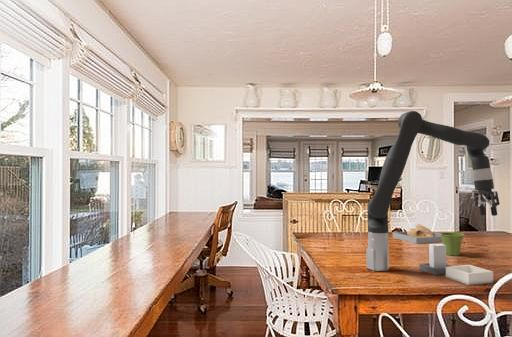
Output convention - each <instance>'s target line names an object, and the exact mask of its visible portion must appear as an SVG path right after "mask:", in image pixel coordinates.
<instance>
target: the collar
mask: <svg viewBox="0 0 512 337" xmlns="http://www.w3.org/2000/svg"><path fill="white" fill-rule="evenodd" d="M449 266H451V265H450V264H447V263H446V267H449ZM419 270H421V271H424V272H426V273H430V274H432V275H434V276H435V275H436V276H440V275H441V276H442V275H446V268H434V267H431V266H430V263H429V262H425V263H424V262H423V263H419Z"/></svg>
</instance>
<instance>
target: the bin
mask: <svg viewBox="0 0 512 337" xmlns="http://www.w3.org/2000/svg"><path fill="white" fill-rule="evenodd" d="M445 278H447V279H450V280H452V281H455V282H459V283H462V284H464V285H467V286H473V285H482V284H491V283H494V271H493V270H489V269H486V268H482V267H479V266H475V265H473V264H463V265H461V264H460V265H450V266H449V267H446V274H445Z"/></svg>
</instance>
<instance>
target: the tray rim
mask: <svg viewBox="0 0 512 337" xmlns="http://www.w3.org/2000/svg"><path fill="white" fill-rule="evenodd" d="M407 233H408V232H407V231H396V232H392V238H393V239H397V240H400V241H404V242H407V243H412V244H416V245H418V244H435V243H443V242H442V238H441V235H440V233H437V232H432V234H433V237H420V238H416V237H412V236H408V234H407Z"/></svg>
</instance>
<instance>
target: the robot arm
mask: <svg viewBox="0 0 512 337" xmlns="http://www.w3.org/2000/svg"><path fill="white" fill-rule="evenodd" d="M397 126H398V127H399V131H398V134H397V137H396V140H395V141H394V142H393V144H392V146H391V148H390V149H389V150H388V152H387V154H386V157H385V159H384V162H383V165H382V166H381V171H380V175H379V181H378V184H377V185H378V186H377V188H376V190H375V192H374V195H373V196H372V198H371V199H370V200H369V201H368V202H367V209H366V210H367V247H366V248H365V251H366V253H365V255H366V256H365V257H366V259H365V261H366V264H365V265H366V266H365V267H366V269H368V270H371V271H378V272H379V271H380V272H386V271H389V269H390V258H389V256H390V253H389V252H390V251H389V249H390V248H389V247H390V246H389V244H390V243H389V240H390V238H389V234H390V233H389V218H388V216H389V215H388V214H389V213H388V212H389V209H390V204H391V202H392V198H393V196H394V192H395V189H396V188H397V186H398V184H399V181H400V179H401V177H402V175H403V172H404V170H405V167H406V165H407V161H408V159H409V156H410V153H411V149H412V146H413V144H414V141H415V139H416V137H417V135H418V134H421V135H426V136H429V137H432V138H435V139H438V140H441V141H444V142H446V143H449V144H453V145H456V146H465V147H466V150H467V151H466V152H467V153H468V155H469V156H468V157H469V158H470V161H471V167H472V178H473V185H474V190H475V191H477V192H474V193H473V196H474V203H475V206H477V207H478V208H479V215H480V216H486V215H487V214H486V213H487V212H486V207H485V205H486V203H487V204H488V205H489V206H490V207H489V208H490V212H491V216H493V217H494V216H498V209H497V207H498V206H499V205H500V200H499V199H500V198H499V193H498V191H496V190H495V191H493V189H495V184H494V177H493V173H492V169H491V163H490V157H489V156H487V155H485V152H484V150H486V149H487V148H488V147H489V146H490V139H489V138H488V137H487V136H486V135H484V134H482V133H480V132H479V133H477V132H472V131H466V130H462V129H461V128H456V127H454V126H450V125H445V124H440V123H435V122H431V121H428V120H425V119H423V117H422V115H421V113H419V112H418V111H416V110H411V111H407V112H406V111H405V112H404V113H402V114H401V115H400V116H399V117H398V120H397Z"/></svg>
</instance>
